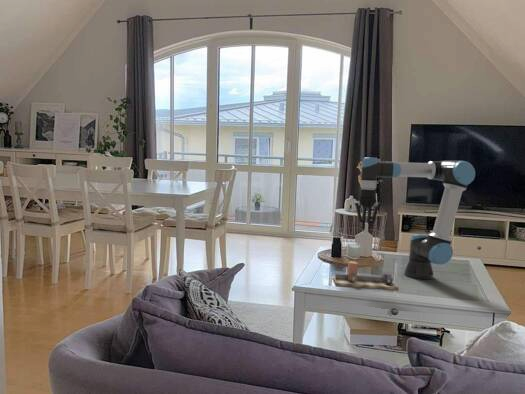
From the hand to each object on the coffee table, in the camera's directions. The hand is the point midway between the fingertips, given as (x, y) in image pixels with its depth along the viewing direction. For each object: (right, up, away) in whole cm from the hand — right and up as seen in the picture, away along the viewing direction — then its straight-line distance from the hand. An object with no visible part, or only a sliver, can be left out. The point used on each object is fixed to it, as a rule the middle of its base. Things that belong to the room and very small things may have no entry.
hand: (365, 236), depth 241 cm
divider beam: (-1, -23, -3) cm, 24 cm away
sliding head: (-7, -21, -2) cm, 23 cm away
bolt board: (-1, -23, -3) cm, 24 cm away
